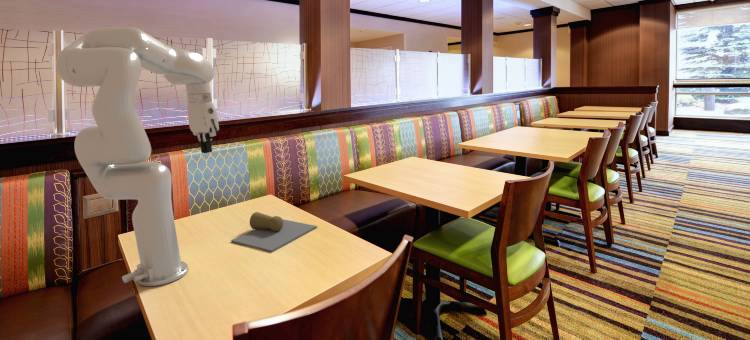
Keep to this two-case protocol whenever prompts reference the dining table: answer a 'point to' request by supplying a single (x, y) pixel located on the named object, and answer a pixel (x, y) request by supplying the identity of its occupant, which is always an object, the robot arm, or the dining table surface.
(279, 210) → the dining table surface
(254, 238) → the mat
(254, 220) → the cork
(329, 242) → the dining table surface
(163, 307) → the dining table surface
